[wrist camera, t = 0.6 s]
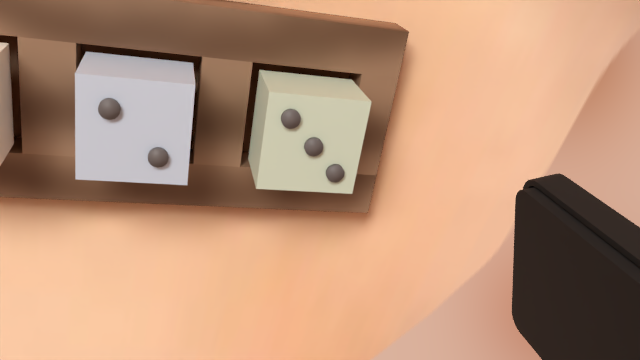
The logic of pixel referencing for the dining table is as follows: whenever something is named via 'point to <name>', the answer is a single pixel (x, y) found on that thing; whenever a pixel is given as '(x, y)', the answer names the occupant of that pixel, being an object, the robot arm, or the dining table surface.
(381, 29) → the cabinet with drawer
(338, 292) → the dining table surface
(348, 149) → the pale green block
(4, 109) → the cream square block
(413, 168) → the dining table surface
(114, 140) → the white die
